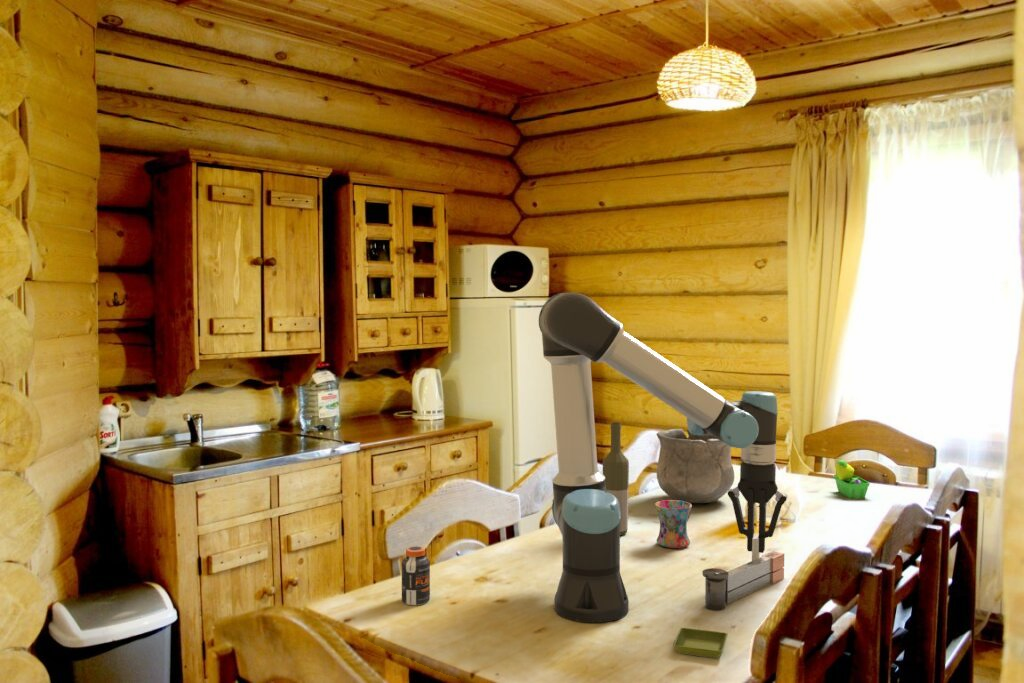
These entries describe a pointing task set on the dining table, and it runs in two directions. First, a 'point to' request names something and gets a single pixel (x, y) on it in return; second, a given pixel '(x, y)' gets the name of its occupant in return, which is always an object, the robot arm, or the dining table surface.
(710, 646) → the green tray
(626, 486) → the bottle
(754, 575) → the tong arm
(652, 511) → the dining table surface
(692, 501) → the pot
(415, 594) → the pill bottle
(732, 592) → the base
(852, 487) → the fruit basket
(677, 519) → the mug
